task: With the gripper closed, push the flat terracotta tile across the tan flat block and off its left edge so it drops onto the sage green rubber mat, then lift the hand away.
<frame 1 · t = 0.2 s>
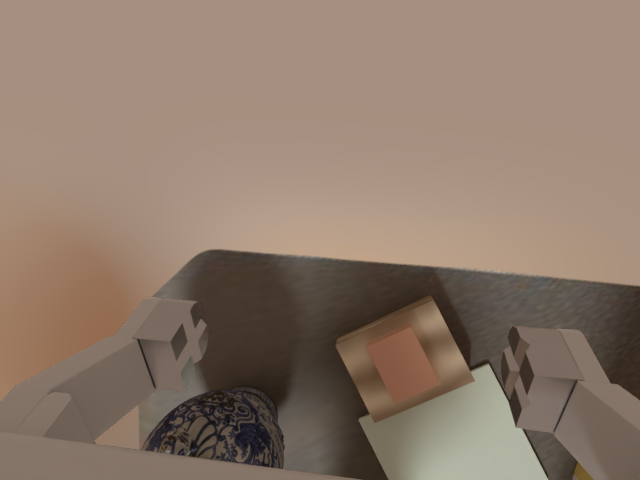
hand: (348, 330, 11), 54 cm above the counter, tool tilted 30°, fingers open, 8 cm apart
mat: (450, 447, 64), on the counter
tan flat block: (402, 353, 64), on the counter
tile: (402, 359, 60), point 4 cm above the counter, touching tan flat block
decorative vase: (247, 415, 69), on the counter
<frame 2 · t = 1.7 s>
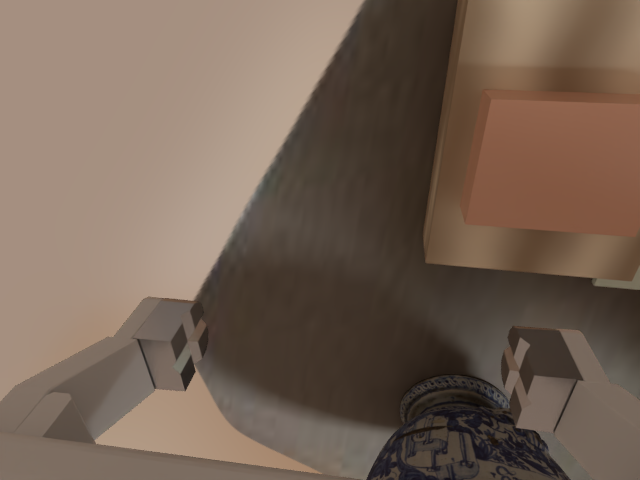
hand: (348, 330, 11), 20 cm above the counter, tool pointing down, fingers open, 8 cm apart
tan flat block: (541, 135, 27), on the counter
tile: (552, 156, 23), point 4 cm above the counter, touching tan flat block
decorative vase: (452, 408, 42), on the counter
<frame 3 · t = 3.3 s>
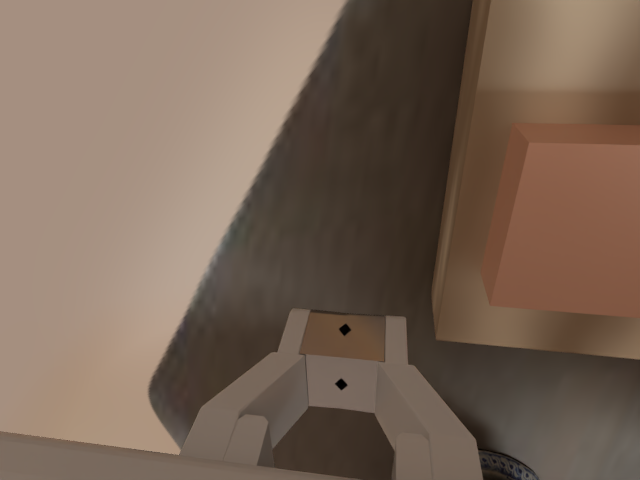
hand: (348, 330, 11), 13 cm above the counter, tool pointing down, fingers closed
tan flat block: (586, 174, 20), on the counter
tile: (610, 210, 17), point 4 cm above the counter, touching tan flat block
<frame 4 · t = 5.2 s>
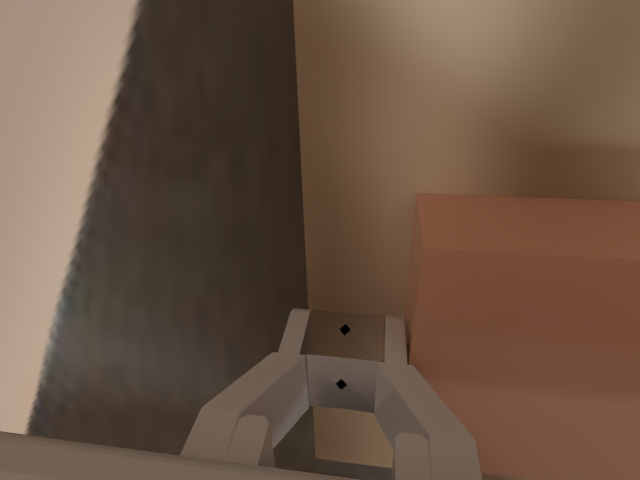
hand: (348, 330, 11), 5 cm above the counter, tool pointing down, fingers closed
tan flat block: (510, 239, 14), on the counter
tile: (577, 320, 11), point 4 cm above the counter
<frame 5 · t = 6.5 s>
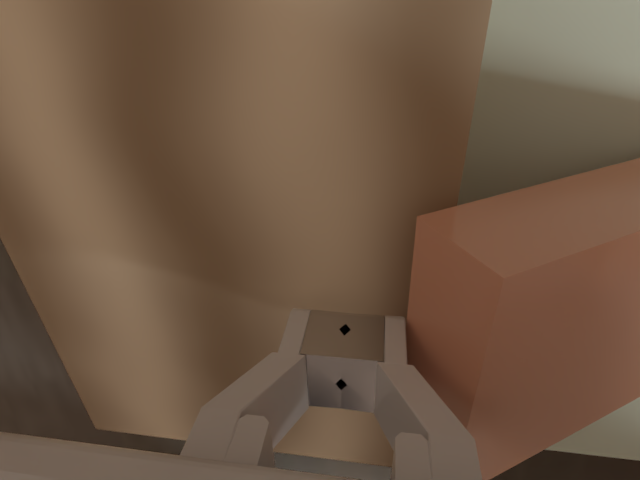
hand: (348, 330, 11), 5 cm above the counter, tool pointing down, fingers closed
tan flat block: (252, 224, 16), on the counter
tile: (536, 289, 12), point 3 cm above the counter, tilted 32°, touching gripper
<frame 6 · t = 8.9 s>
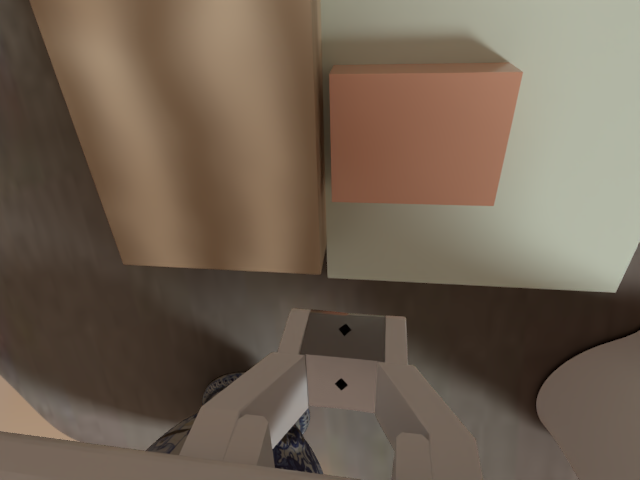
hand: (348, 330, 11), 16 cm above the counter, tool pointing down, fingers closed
mat: (495, 127, 23), on the counter
tan flat block: (219, 125, 25), on the counter
tile: (413, 129, 23), resting on mat
decorative vase: (256, 405, 41), on the counter
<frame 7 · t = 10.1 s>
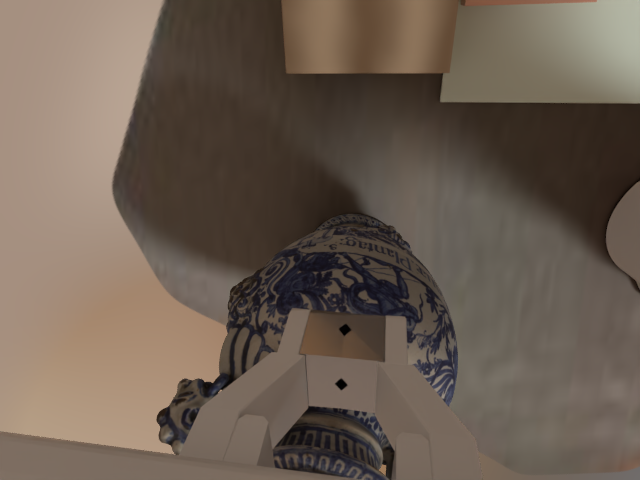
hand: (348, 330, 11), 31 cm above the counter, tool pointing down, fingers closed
decorative vase: (353, 253, 47), on the counter
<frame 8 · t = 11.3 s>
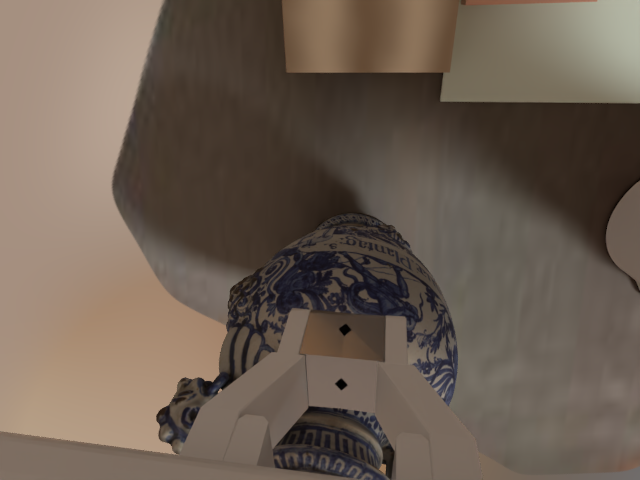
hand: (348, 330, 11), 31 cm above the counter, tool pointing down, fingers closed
decorative vase: (353, 252, 47), on the counter
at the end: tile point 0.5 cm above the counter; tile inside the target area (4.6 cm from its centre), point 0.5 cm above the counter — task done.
